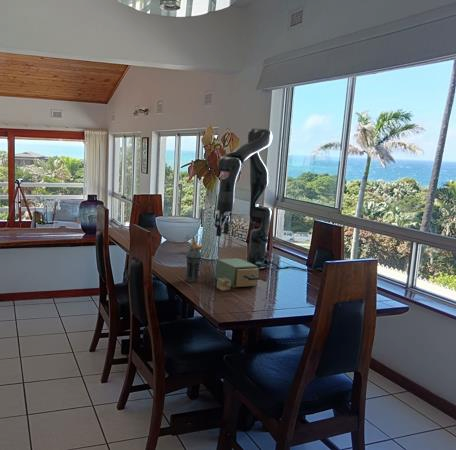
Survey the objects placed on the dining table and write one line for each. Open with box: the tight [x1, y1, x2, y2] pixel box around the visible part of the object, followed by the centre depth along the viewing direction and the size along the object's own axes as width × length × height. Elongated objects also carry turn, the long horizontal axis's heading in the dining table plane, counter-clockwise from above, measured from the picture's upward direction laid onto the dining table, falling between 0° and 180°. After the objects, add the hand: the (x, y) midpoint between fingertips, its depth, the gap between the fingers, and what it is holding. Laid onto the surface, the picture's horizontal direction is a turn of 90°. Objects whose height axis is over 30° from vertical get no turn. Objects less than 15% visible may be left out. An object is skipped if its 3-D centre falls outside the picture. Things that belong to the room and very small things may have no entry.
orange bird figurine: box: [184, 234, 203, 251], centre depth 273 cm, size 7×18×11 cm, turn 84°
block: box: [216, 278, 232, 291], centre depth 204 cm, size 4×4×4 cm
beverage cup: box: [185, 238, 203, 283], centre depth 212 cm, size 7×7×20 cm
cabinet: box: [214, 257, 257, 288], centre depth 216 cm, size 15×13×10 cm
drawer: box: [235, 268, 261, 288], centre depth 212 cm, size 18×11×8 cm, turn 26°
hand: (222, 235), depth 214 cm, fingers open, 8 cm apart
